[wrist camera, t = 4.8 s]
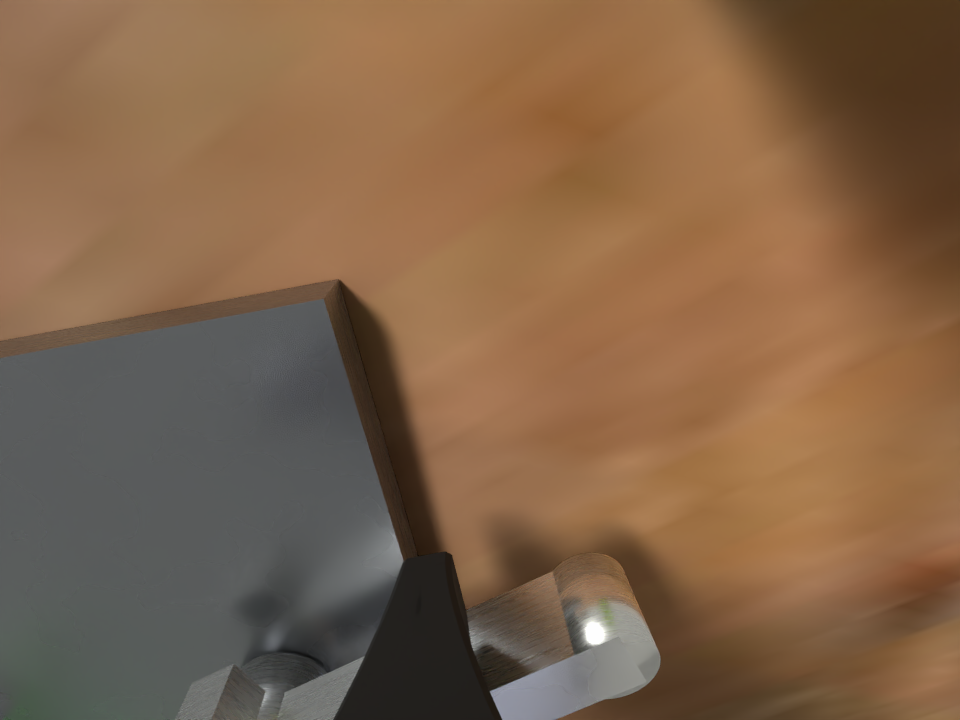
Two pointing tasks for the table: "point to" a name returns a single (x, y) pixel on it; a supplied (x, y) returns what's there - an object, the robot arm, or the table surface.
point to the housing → (188, 503)
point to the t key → (480, 655)
